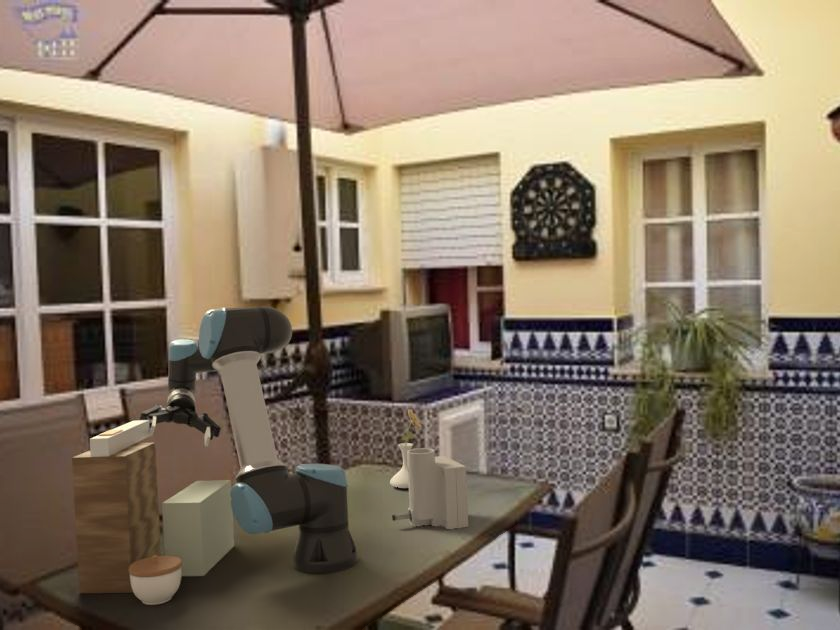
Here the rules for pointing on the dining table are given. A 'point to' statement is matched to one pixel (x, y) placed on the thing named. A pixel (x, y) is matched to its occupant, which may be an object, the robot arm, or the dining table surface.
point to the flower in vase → (405, 454)
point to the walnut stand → (115, 516)
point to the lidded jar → (155, 578)
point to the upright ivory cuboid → (199, 525)
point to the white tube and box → (435, 490)
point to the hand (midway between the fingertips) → (180, 436)
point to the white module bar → (119, 438)
